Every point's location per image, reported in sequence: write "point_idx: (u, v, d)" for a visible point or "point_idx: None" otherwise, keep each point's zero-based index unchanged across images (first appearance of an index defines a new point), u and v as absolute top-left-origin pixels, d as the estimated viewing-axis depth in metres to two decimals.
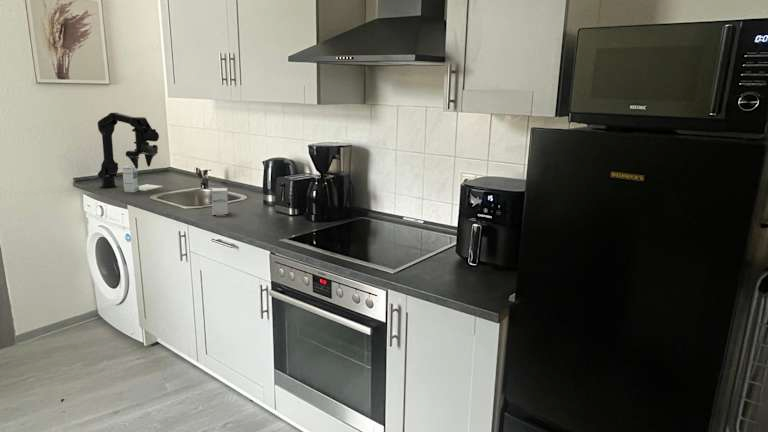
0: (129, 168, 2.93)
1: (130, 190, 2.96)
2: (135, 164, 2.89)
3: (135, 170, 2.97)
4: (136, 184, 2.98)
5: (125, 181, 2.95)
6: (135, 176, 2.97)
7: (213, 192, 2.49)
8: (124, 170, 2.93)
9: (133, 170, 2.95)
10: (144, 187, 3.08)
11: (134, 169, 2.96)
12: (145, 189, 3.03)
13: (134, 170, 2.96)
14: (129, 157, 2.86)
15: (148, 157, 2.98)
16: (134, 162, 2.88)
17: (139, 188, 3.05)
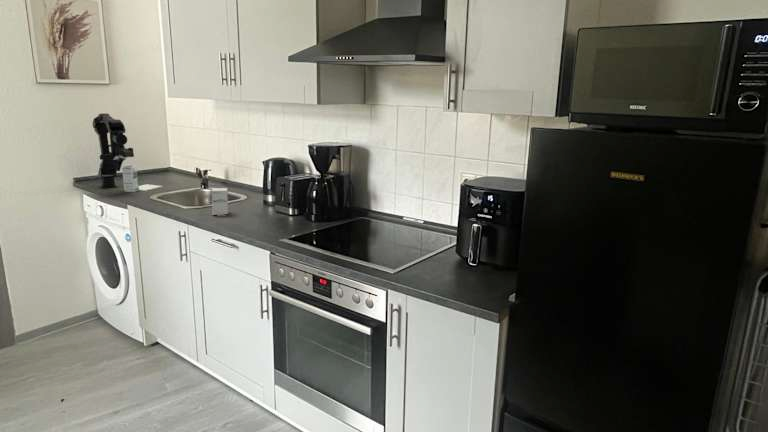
0: (129, 168, 2.93)
1: (130, 190, 2.96)
2: (116, 166, 2.87)
3: (135, 170, 2.97)
4: (136, 184, 2.98)
5: (125, 181, 2.95)
6: (135, 176, 2.97)
7: (213, 192, 2.49)
8: (124, 170, 2.93)
9: (133, 170, 2.95)
10: (144, 187, 3.08)
11: (134, 169, 2.96)
12: (145, 189, 3.03)
13: (134, 170, 2.96)
14: (110, 159, 2.84)
15: None
16: (115, 164, 2.86)
17: (139, 188, 3.05)
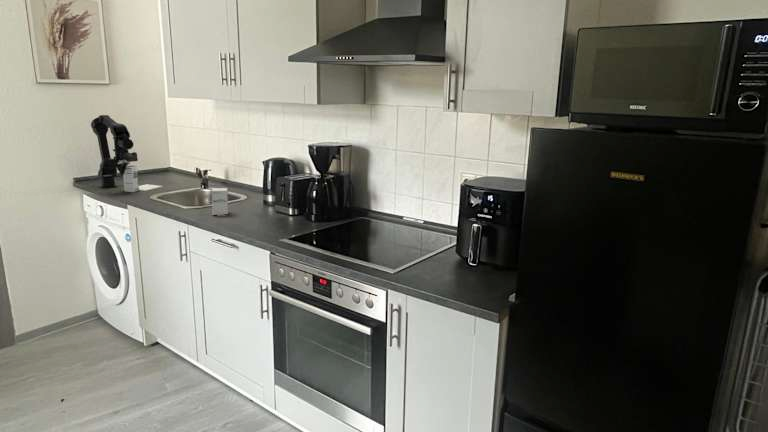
0: (129, 168, 2.93)
1: (130, 190, 2.96)
2: (120, 171, 2.90)
3: (135, 170, 2.97)
4: (136, 184, 2.98)
5: (125, 181, 2.95)
6: (135, 176, 2.97)
7: (213, 192, 2.49)
8: None
9: (133, 170, 2.95)
10: (144, 187, 3.08)
11: (134, 169, 2.96)
12: (145, 189, 3.03)
13: (134, 170, 2.96)
14: (114, 164, 2.87)
15: None
16: (119, 169, 2.89)
17: (139, 188, 3.05)
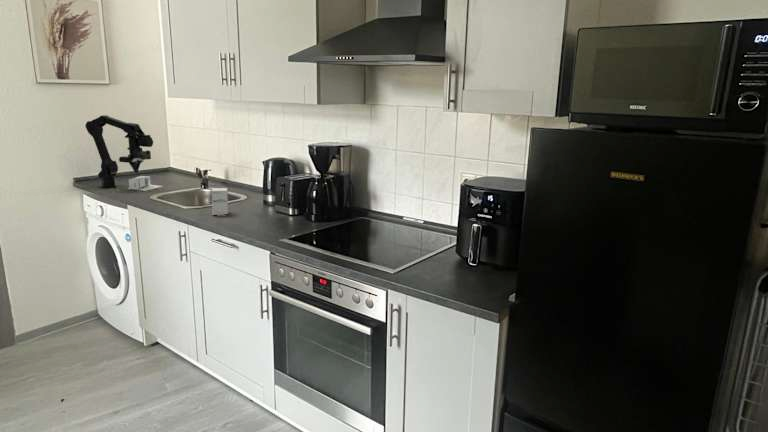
0: (147, 176, 3.13)
1: (135, 179, 3.01)
2: (134, 168, 2.99)
3: (148, 182, 3.12)
4: (141, 183, 3.05)
5: (135, 178, 3.06)
6: (145, 182, 3.09)
7: (213, 192, 2.49)
8: (141, 176, 3.12)
9: (148, 179, 3.12)
10: (144, 187, 3.08)
11: (149, 180, 3.13)
12: (145, 189, 3.03)
13: (148, 181, 3.12)
14: None
15: None
16: (133, 166, 2.99)
17: None
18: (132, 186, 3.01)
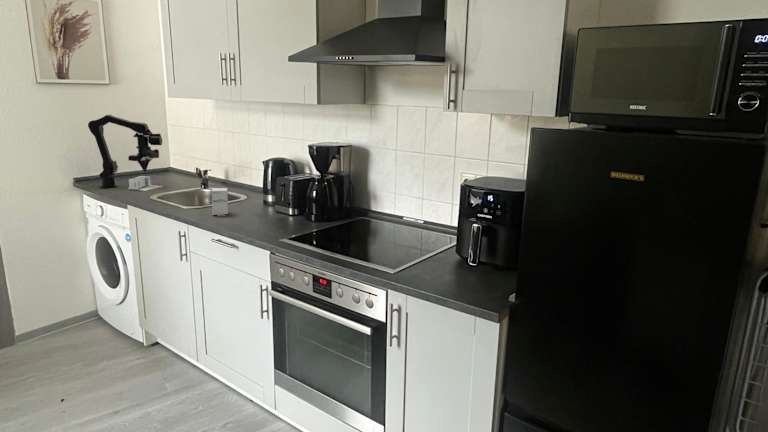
0: (147, 176, 3.13)
1: (135, 179, 3.01)
2: (143, 167, 3.06)
3: (148, 182, 3.12)
4: (141, 183, 3.05)
5: (135, 178, 3.06)
6: (145, 182, 3.09)
7: (213, 192, 2.49)
8: (141, 176, 3.12)
9: (148, 179, 3.12)
10: (144, 187, 3.08)
11: (149, 180, 3.13)
12: (145, 189, 3.03)
13: (148, 181, 3.12)
14: (137, 160, 3.03)
15: None
16: (142, 165, 3.05)
17: None
18: (132, 186, 3.01)
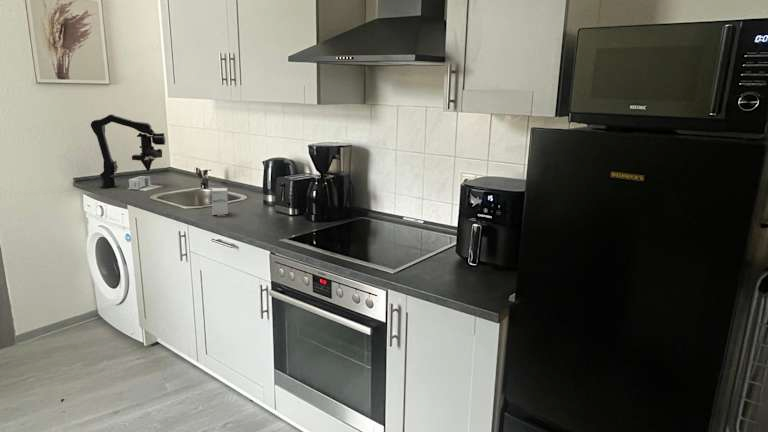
0: (147, 176, 3.13)
1: (135, 179, 3.01)
2: (146, 166, 3.08)
3: (148, 182, 3.12)
4: (141, 183, 3.05)
5: (135, 178, 3.06)
6: (145, 182, 3.09)
7: (213, 192, 2.49)
8: (141, 176, 3.12)
9: (148, 179, 3.12)
10: (144, 187, 3.08)
11: (149, 180, 3.13)
12: (145, 189, 3.03)
13: (148, 181, 3.12)
14: (141, 160, 3.05)
15: None
16: (145, 164, 3.08)
17: None
18: (132, 186, 3.01)
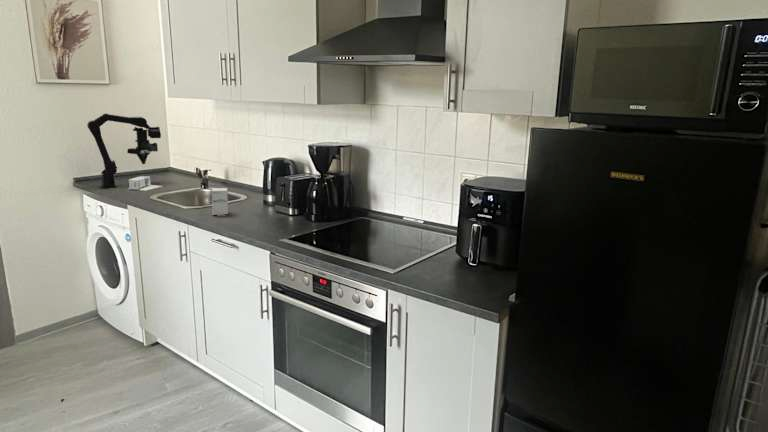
0: (147, 176, 3.13)
1: (135, 179, 3.01)
2: (142, 160, 3.13)
3: (148, 182, 3.12)
4: (141, 183, 3.05)
5: (135, 178, 3.06)
6: (145, 182, 3.09)
7: (213, 192, 2.49)
8: (141, 176, 3.12)
9: (148, 179, 3.12)
10: (144, 187, 3.08)
11: (149, 180, 3.13)
12: (145, 189, 3.03)
13: (148, 181, 3.12)
14: (136, 153, 3.10)
15: None
16: (141, 158, 3.12)
17: None
18: (132, 186, 3.01)
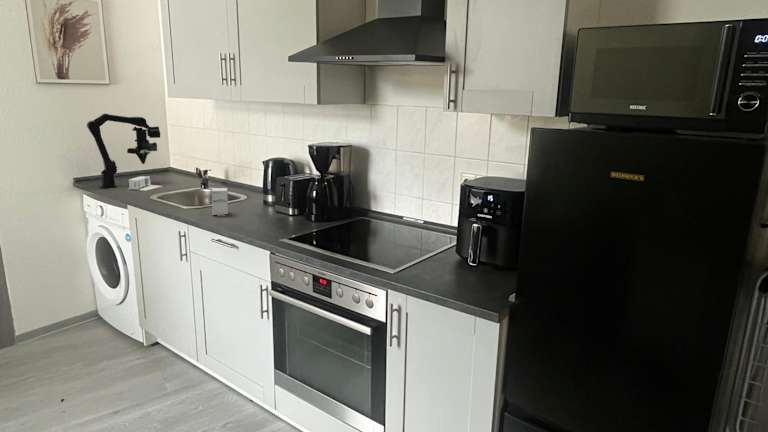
0: (147, 176, 3.13)
1: (135, 179, 3.01)
2: (141, 160, 3.13)
3: (148, 182, 3.12)
4: (141, 183, 3.05)
5: (135, 178, 3.06)
6: (145, 182, 3.09)
7: (213, 192, 2.49)
8: (141, 176, 3.12)
9: (148, 179, 3.12)
10: (144, 187, 3.08)
11: (149, 180, 3.13)
12: (145, 189, 3.03)
13: (148, 181, 3.12)
14: (136, 153, 3.10)
15: None
16: (140, 158, 3.13)
17: None
18: (132, 186, 3.01)
